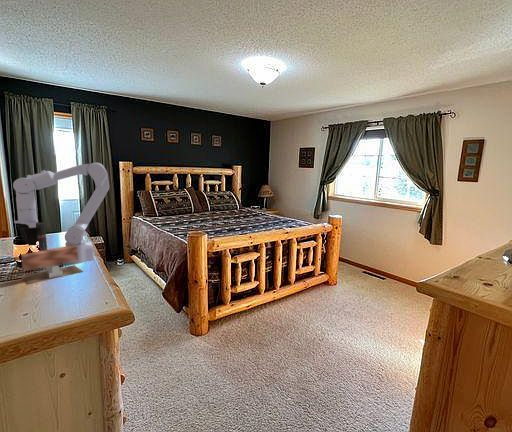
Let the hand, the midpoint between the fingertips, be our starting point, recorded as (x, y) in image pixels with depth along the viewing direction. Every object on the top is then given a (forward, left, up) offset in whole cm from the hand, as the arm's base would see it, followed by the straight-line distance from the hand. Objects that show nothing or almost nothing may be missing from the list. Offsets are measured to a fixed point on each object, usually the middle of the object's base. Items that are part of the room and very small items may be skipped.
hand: (29, 243), depth 109 cm
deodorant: (-6, -20, -11) cm, 23 cm away
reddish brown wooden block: (-3, +16, -5) cm, 17 cm away
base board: (-3, +16, -10) cm, 19 cm away
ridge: (-3, +16, -9) cm, 19 cm away
